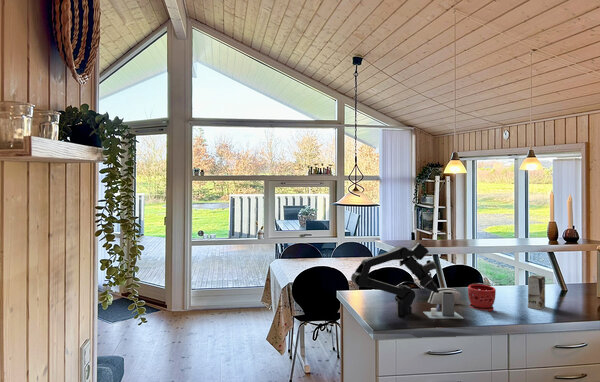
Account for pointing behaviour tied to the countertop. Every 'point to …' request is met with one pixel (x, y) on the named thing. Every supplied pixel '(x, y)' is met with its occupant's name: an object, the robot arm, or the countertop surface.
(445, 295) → the steel sleeve
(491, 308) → the plant pot
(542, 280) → the coffee box
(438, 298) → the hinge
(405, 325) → the countertop surface
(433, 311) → the base plate
